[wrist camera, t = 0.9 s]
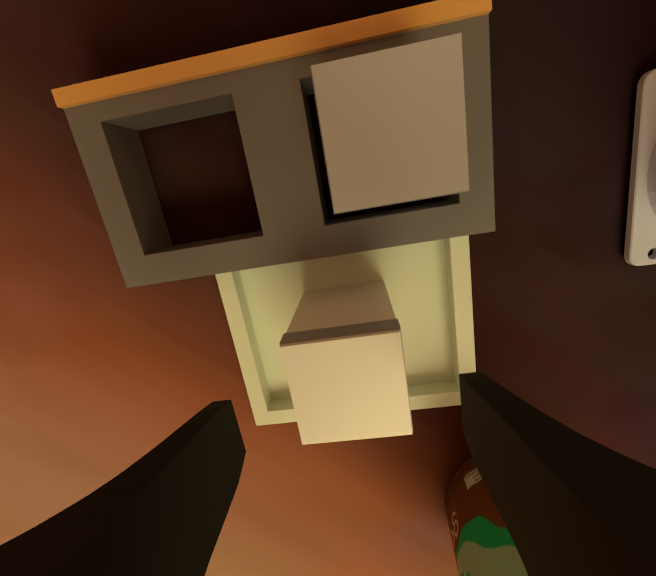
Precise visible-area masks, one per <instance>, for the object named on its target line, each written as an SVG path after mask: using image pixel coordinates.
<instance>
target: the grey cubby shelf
mask: <svg viewBox="0 0 656 576" xmlns="http://www.w3.org/2000/svg"><path fill="white" fill-rule="evenodd" d="M491 10H492V0H437V1H432V2H428V3H424V4H419V5H415V6H411V7H406V8H402V9H398V10H394V11H389V12H385V13H381V14H376V15H372V16H368V17H363V18H359V19H355V20H350V21H346V22H342V23H337V24H333V25H329V26H324V27H320V28H316V29H312V30H307V31H303V32H299V33H294V34H290V35H286V36H281V37H277V38H273V39H268V40H264V41H260V42H255V43H251V44H247V45H242V46H238V47H234V48H230V49H225V50H221V51H217V52H212V53H208V54H204V55H199V56H195V57H191V58H186V59H182V60H178V61H173V62H169V63H165V64H160V65H156V66H152V67H147V68H143V69H139V70H135V71H130V72H126V73H122V74H117V75H113V76H109V77H104V78H100V79H96V80H91V81H87V82H83V83H78V84H74V85H70V86H65V87H61V88H57V89H53V90H51V91H52V94H53V96H54V99H55V102H56V105H57V107H59V108H62V109H64V111H65V114H66V117H67V120H68V122H69V125H70V128H71V131H72V134H73V137H74V139H75V142H76V145H77V148H78V151H79V154H80V156H81V159H82V162H83V165H84V168H85V171H86V173H87V176H88V179H89V182H90V185H91V187H92V190H93V193H94V196H95V199H96V202H97V204H98V207H99V210H100V213H101V216H102V219H103V221H104V224H105V227H106V230H107V233H108V236H109V238H110V241H111V244H112V247H113V250H114V253H115V255H116V258H117V261H118V264H119V267H120V270H121V272H122V275H123V278H124V281H125V284H126V286H127V288H130V287H136V286H143V285H149V284H156V283H162V282H169V281H175V280H182V279H188V278H195V277H201V276H207V275H214V274H220V273H227V272H233V271H240V270H246V269H253V268H259V267H266V266H272V265H279V264H285V263H292V262H298V261H305V260H311V259H318V258H324V257H330V256H337V255H343V254H350V253H356V252H363V251H369V250H376V249H382V248H389V247H395V246H402V245H408V244H415V243H421V242H428V241H434V240H440V239H447V238H453V237H460V236H466V235H473V234H479V233H486V232H492V231H495V205H494V173H493V141H492V108H491V76H490V43H489V13H490V11H491ZM458 33H461V34H462V53H463V73H464V93H465V113H466V132H467V152H468V172H469V192H464V193H458V194H452V195H446V196H443V199H444V200H442V201H436V202H430V203H424V204H418V205H412V206H406V207H400V208H394V209H388V210H382V211H376V212H370V213H364V214H358V215H352V216H346V217H340V218H334V219H328V213H327V207H326V201H325V195H324V189H323V183H322V177H321V171H320V165H319V160H318V154H317V148H316V142H315V136H314V130H313V124H312V118H311V112H310V106H309V100H308V95H311V94H314V89H313V83H312V77H311V71H310V66H312V65H316V64H321V63H325V62H330V61H335V60H339V59H344V58H348V57H353V56H357V55H362V54H367V53H371V52H376V51H380V50H385V49H389V48H394V47H399V46H403V45H408V44H412V43H417V42H421V41H426V40H431V39H435V38H440V37H444V36H449V35H453V34H458ZM234 110H235V111H236V115H237V120H238V124H239V129H240V133H241V138H242V142H243V147H244V151H245V155H246V160H247V164H248V169H249V173H250V178H251V182H252V187H253V191H254V196H255V200H256V204H257V209H258V213H259V218H260V222H261V227H262V231H256V232H250V233H244V234H238V235H232V236H226V237H220V238H214V239H208V240H202V241H196V242H190V243H184V244H178V245H173V244H172V241H171V237H170V234H169V231H168V227H167V224H166V221H165V218H164V214H163V211H162V208H161V204H160V201H159V198H158V194H157V191H156V188H155V184H154V181H153V178H152V175H151V171H150V168H149V165H148V161H147V158H146V155H145V151H144V148H143V145H142V141H141V138H140V135H139V132H138V131H139V130H144V129H149V128H153V127H158V126H163V125H168V124H172V123H177V122H182V121H187V120H191V119H196V118H201V117H206V116H210V115H215V114H220V113H225V112H230V111H234Z"/></svg>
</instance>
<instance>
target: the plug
mask: <svg viewBox="0 0 656 576" xmlns="http://www.w3.org/2000/svg"><path fill="white" fill-rule="evenodd" d="M279 344H280V350H281V355H282V359H283V363H284V367H285V372H286V376H287V380H288V385H289V389H290V393H291V398H292V402H293V406H294V410H295V415H296V419H297V423H298V428H299V432H300V436H301V441H302V445H304V444H315V443H326V442H336V441H347V440H358V439H369V438H380V437H390V436H401V435H412V432H413V426H412V418H411V410H410V401H409V393H408V384H407V376H406V368H405V359H404V351H403V342H402V334H401V327H400V324H399V321H398V318H397V319H396V317H395V314H394V311H393V308H392V305H391V302H390V299H389V295H388V292H387V289H386V286H385V283H384V281H377V282H370V283H363V284H356V285H349V286H342V287H335V288H328V289H321V290H314V291H307V292H304V293H303V295H302V297H301V299H300V302H299V304H298V306H297V309H296V311H295V313H294V316H293V318H292V320H291V323H290V325H289V327H288V329H287V332H286V333H284V334H283V336H282V338H281V340H280V343H279Z"/></svg>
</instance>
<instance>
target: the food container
mask: <svg viewBox="0 0 656 576" xmlns="http://www.w3.org/2000/svg"><path fill="white" fill-rule="evenodd" d="M445 505H446V513H447V519H448V523H449V528H450V533H451V538H452V543H453V548H454V553H455V557H456V562H457V567H458V572H459V576H528V574H527V571H526V569H525V566H524V564H523V562H522V559H521V557H520V555H519V553H518V551H517V548H516V546H515V544H514V542H513V540H512V538H511V536H510V534H509V532H508V530H507V528H506V526H505V524H504V522H503V520H502V518H501V516H500V514H499V512H498V510H497V508H496V506H495V504H494V502H493V500H492V498H491V496H490V494H489V492H488V490H487V488H486V486H485V484H484V482H483V480H482V478H481V475H480V473H479V471H478V469H477V467H476V465H475V463H474V460H473V458H472V459H470V460H469V461H467V462H466V463H465V464H463V466H462V467H461V468H460V470H459V471H458V472H457V474H456V475H455V476H454V478H453V479H452V481H451V482H450V484H449V488H448V492H447V496H446V499H445Z"/></svg>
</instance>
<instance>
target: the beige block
mask: <svg viewBox="0 0 656 576" xmlns="http://www.w3.org/2000/svg"><path fill="white" fill-rule="evenodd" d="M310 71H311V77H312V83H313V89H314V95H315V102H316V108H317V114H318V120H319V126H320V132H321V139H322V145H323V151H324V157H325V163H326V169H327V176H328V182H329V188H330V194H331V200H332V206H333V212H334V214H339V213H345V212H351V211H357V210H363V209H369V208H375V207H381V206H387V205H392V204H398V203H404V202H410V201H416V200H422V199H428V198H434V197H440V196H446V195H452V194H458V193H464V192H469V172H468V152H467V132H466V113H465V93H464V73H463V53H462V34H461V33H458V34H453V35H449V36H444V37H440V38H435V39H431V40H426V41H421V42H417V43H412V44H408V45H403V46H399V47H394V48H389V49H385V50H380V51H376V52H371V53H367V54H362V55H357V56H353V57H348V58H344V59H339V60H335V61H330V62H325V63H321V64H316V65H312V66H310Z"/></svg>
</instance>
